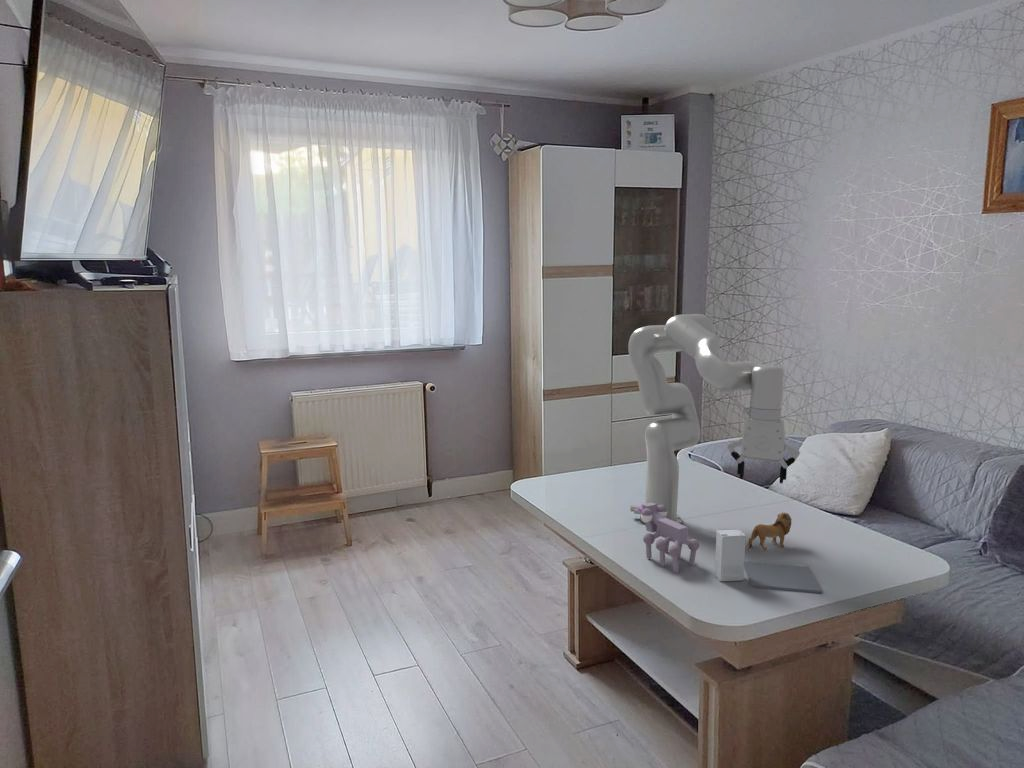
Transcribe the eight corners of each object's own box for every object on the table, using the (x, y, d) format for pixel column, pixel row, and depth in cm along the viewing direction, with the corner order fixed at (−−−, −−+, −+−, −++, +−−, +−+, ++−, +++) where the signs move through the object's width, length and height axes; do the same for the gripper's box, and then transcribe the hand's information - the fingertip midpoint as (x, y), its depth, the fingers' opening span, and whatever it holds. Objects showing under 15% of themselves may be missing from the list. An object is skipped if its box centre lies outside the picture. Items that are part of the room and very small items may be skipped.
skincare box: (736, 573, 177) (739, 528, 174) (744, 581, 172) (747, 535, 170) (713, 574, 176) (715, 529, 174) (719, 582, 172) (722, 536, 170)
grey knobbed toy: (619, 548, 192) (623, 500, 190) (648, 542, 198) (651, 496, 196) (672, 575, 175) (676, 523, 173) (701, 567, 181) (706, 517, 179)
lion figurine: (780, 538, 200) (782, 508, 198) (795, 545, 195) (797, 514, 193) (741, 547, 193) (743, 516, 192) (756, 554, 188) (758, 523, 187)
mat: (751, 587, 169) (751, 584, 169) (743, 563, 183) (744, 561, 183) (821, 593, 166) (821, 590, 166) (808, 568, 180) (808, 566, 180)
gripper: (727, 414, 175) (724, 479, 178) (801, 420, 168) (796, 488, 171) (731, 408, 182) (728, 471, 185) (803, 414, 175) (798, 480, 177)
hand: (761, 479), depth 178 cm, fingers open, 9 cm apart
